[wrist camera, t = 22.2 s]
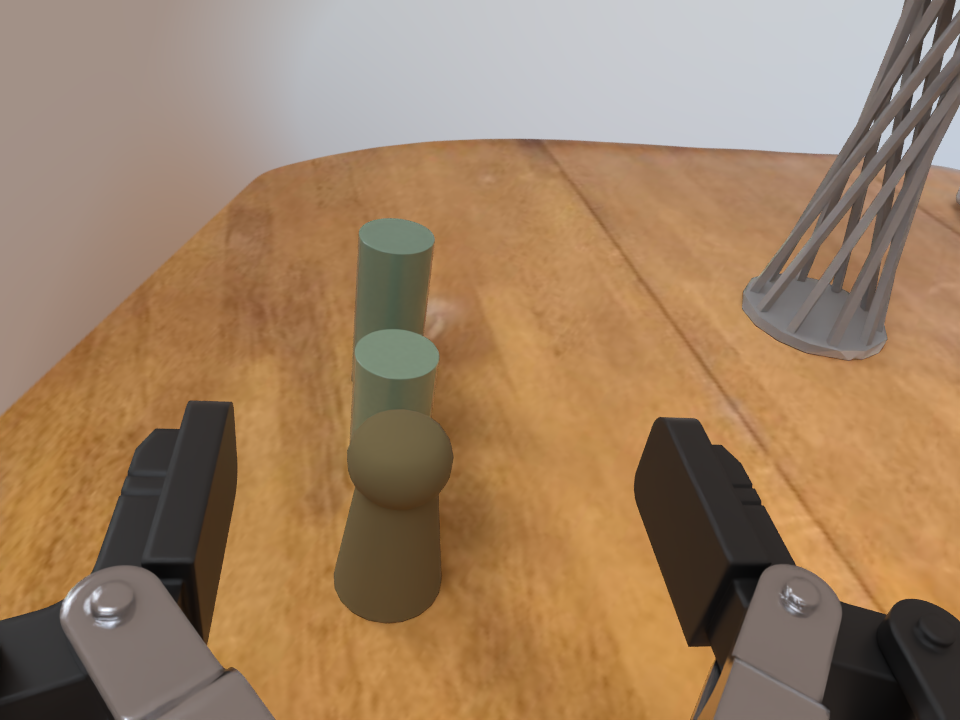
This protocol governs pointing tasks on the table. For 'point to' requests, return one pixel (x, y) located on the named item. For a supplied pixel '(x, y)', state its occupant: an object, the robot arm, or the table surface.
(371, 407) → the front jar
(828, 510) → the table surface
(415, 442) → the olive chess pawn
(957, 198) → the campfire
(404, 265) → the back jar
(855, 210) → the grey lattice tower
